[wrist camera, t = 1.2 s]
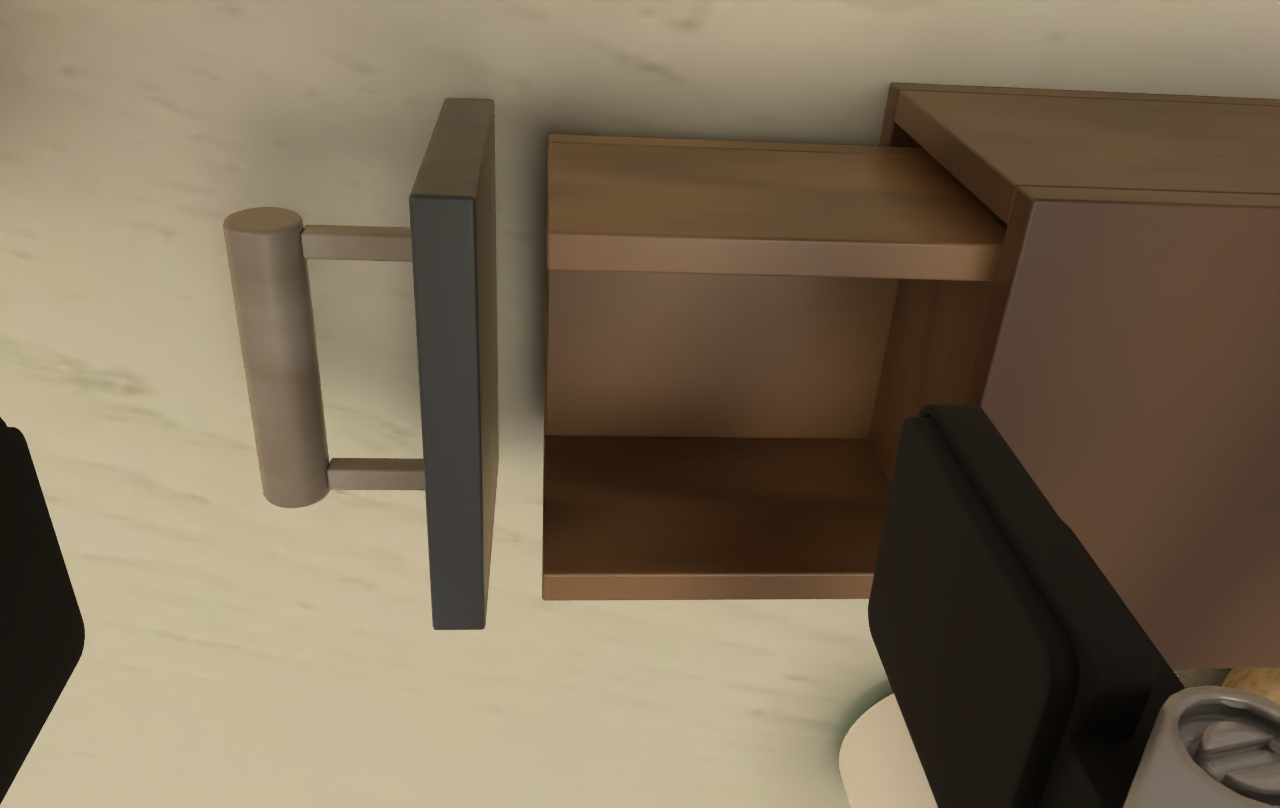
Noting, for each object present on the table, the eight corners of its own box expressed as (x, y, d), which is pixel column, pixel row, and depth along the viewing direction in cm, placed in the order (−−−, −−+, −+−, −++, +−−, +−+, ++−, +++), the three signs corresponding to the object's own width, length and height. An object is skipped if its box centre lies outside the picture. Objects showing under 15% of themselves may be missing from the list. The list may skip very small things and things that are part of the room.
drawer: (306, 457, 30) (239, 633, 23) (261, 89, 24) (160, 187, 18) (875, 461, 31) (957, 627, 25) (945, 117, 26) (1071, 215, 20)
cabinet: (823, 461, 32) (911, 673, 24) (889, 82, 26) (1033, 198, 19) (1233, 464, 33) (1442, 666, 26) (1382, 103, 28) (1711, 220, 20)
